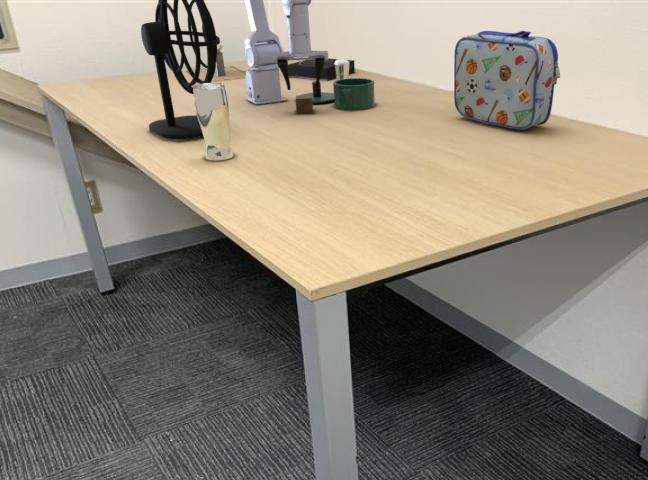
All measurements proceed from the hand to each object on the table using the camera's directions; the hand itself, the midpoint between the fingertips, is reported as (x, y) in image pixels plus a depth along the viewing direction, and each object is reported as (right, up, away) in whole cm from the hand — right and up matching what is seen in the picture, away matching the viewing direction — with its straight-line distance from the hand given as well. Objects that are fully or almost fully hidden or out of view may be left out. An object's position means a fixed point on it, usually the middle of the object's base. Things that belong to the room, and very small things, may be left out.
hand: (303, 88), depth 180 cm
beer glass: (-15, -27, -33) cm, 45 cm away
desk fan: (-27, -15, -12) cm, 33 cm away
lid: (+2, +3, +15) cm, 16 cm away
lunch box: (+52, -14, -12) cm, 55 cm away
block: (0, -5, +3) cm, 6 cm away
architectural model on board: (-38, +26, +57) cm, 73 cm away
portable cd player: (0, +24, +52) cm, 57 cm away
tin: (+13, -2, +9) cm, 16 cm away
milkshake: (+9, +9, +27) cm, 30 cm away
